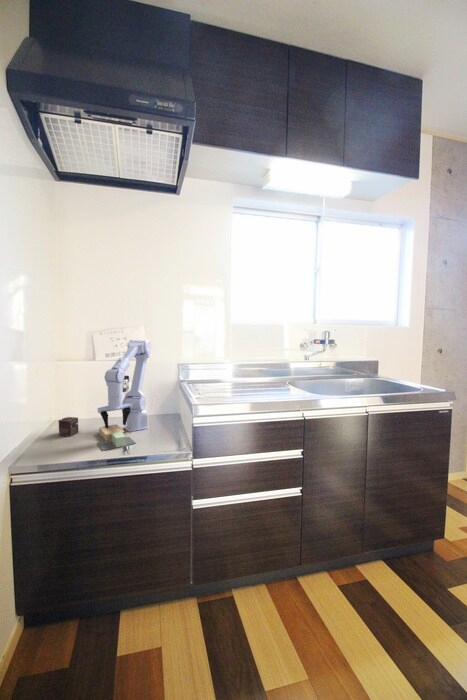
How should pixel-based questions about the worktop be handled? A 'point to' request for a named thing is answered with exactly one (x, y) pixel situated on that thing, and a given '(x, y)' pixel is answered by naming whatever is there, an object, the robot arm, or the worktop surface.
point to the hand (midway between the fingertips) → (115, 426)
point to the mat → (109, 444)
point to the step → (109, 431)
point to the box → (68, 426)
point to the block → (118, 439)
